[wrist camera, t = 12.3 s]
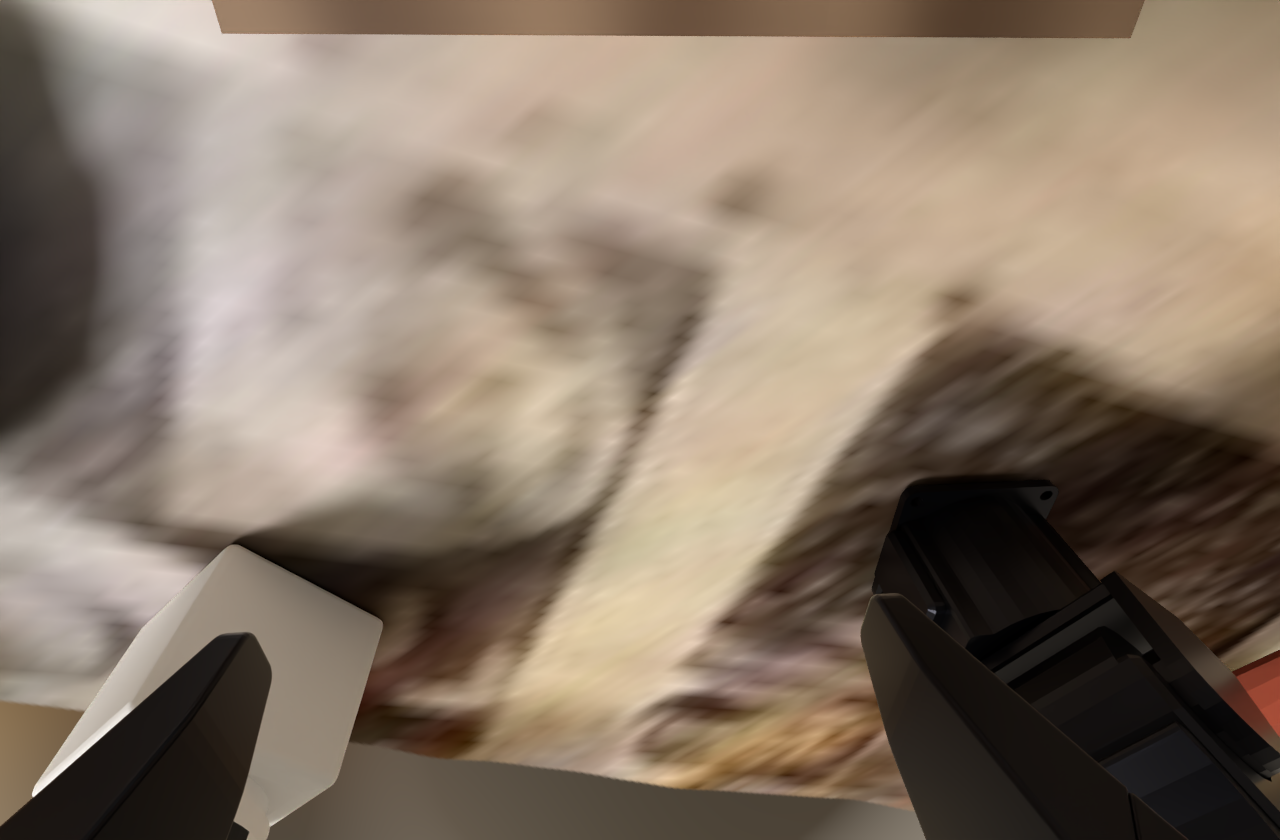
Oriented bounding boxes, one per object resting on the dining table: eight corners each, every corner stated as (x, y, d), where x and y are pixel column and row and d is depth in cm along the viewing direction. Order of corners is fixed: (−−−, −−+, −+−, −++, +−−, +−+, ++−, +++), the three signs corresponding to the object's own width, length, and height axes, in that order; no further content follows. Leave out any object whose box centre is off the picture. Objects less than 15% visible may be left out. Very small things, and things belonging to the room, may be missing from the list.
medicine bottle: (142, 625, 27) (-108, 991, 17) (233, 537, 25) (6, 902, 15) (295, 690, 30) (159, 1030, 21) (388, 618, 28) (285, 962, 18)
